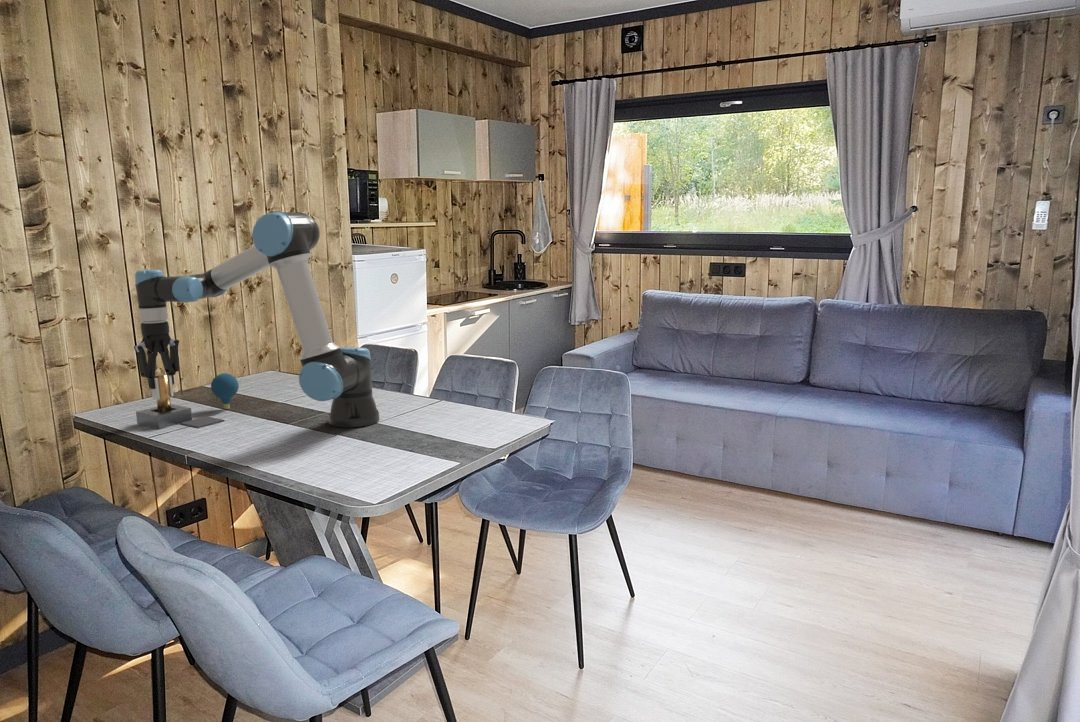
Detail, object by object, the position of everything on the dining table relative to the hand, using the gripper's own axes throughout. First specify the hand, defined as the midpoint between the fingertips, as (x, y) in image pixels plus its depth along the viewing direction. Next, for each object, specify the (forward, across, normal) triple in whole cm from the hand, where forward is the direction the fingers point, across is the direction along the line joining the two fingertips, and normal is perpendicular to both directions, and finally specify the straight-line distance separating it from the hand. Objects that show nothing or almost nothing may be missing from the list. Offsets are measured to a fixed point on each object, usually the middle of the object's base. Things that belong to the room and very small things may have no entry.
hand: (163, 397), depth 232 cm
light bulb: (+8, -20, +3) cm, 22 cm away
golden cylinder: (+5, 0, 0) cm, 5 cm away
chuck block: (+8, 0, 0) cm, 8 cm away
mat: (+8, -5, +10) cm, 14 cm away
